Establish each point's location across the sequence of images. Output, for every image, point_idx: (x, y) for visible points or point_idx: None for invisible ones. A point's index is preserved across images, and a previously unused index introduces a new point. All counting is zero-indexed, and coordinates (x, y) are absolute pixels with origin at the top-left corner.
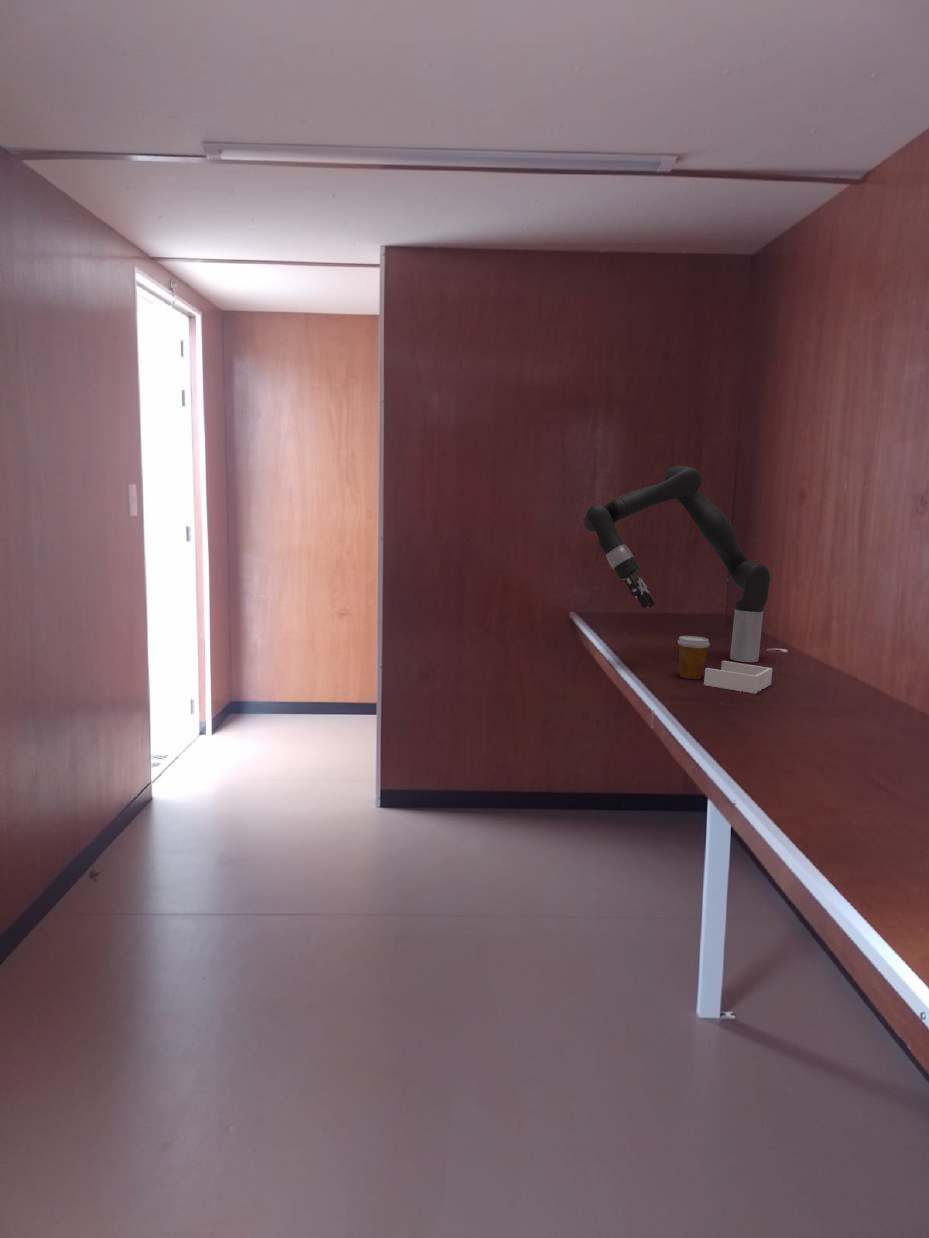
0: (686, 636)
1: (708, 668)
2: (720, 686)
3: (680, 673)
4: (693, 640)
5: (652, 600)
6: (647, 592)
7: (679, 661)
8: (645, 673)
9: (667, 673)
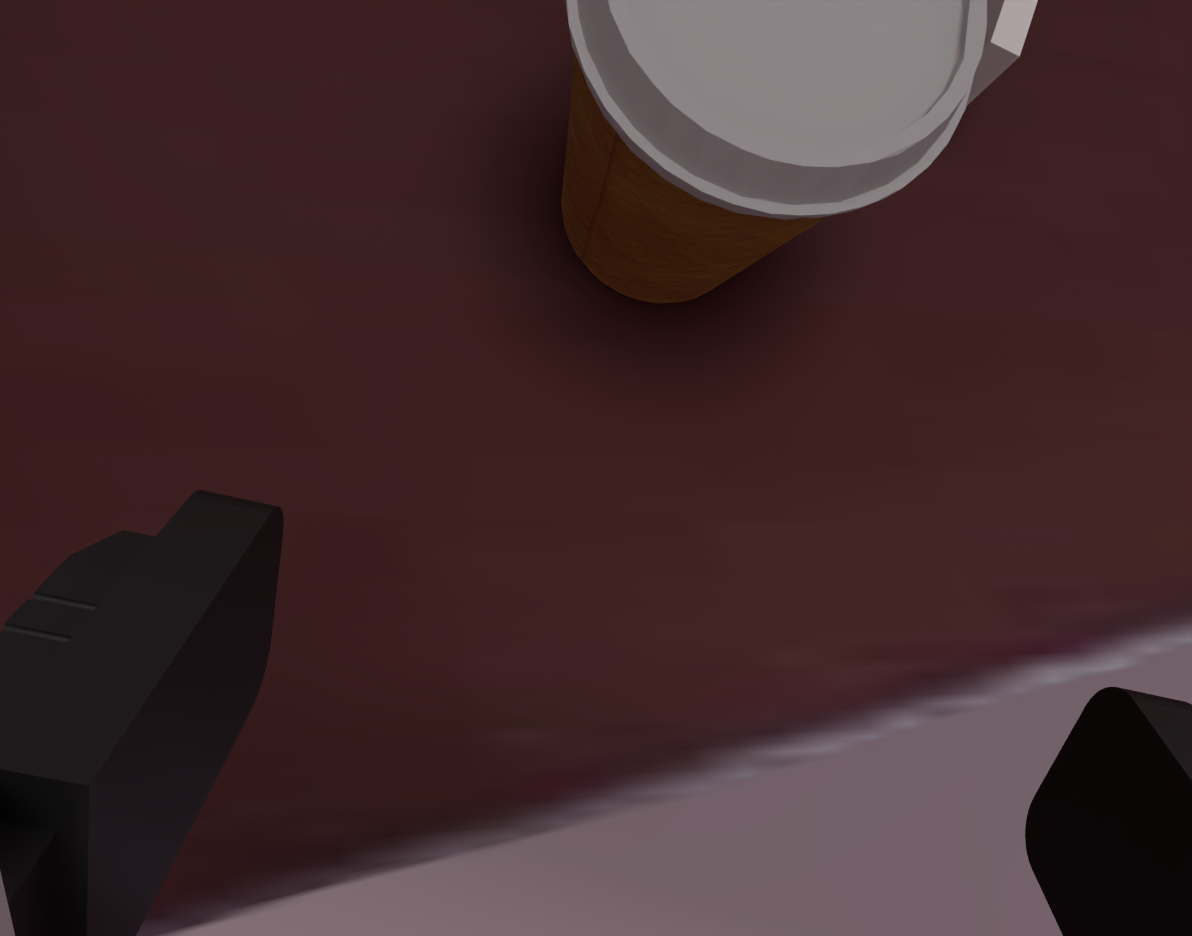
0: (647, 53)
1: (1011, 28)
2: None
3: (699, 293)
4: (970, 6)
5: (233, 591)
6: (7, 921)
7: (710, 269)
8: (685, 632)
9: (586, 415)
